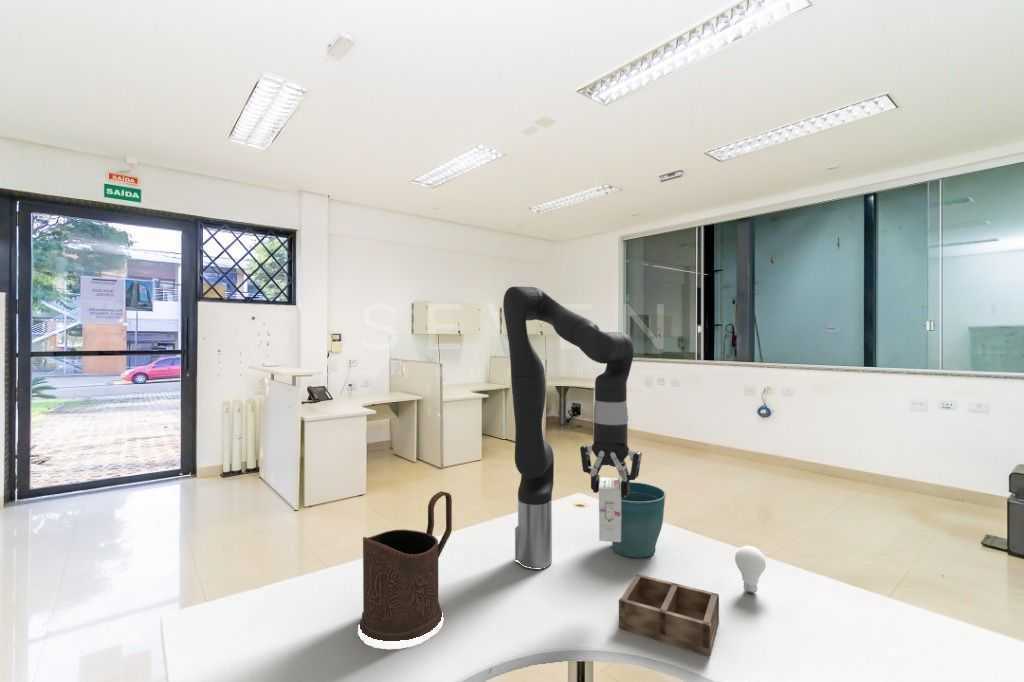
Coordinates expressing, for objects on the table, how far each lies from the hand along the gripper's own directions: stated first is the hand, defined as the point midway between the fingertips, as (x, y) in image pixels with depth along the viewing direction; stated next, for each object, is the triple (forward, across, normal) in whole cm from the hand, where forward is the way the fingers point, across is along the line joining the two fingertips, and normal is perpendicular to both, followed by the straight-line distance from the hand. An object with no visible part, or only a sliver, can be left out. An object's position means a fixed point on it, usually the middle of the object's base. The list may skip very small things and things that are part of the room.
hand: (609, 494), depth 108 cm
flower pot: (+26, -4, +32) cm, 42 cm away
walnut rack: (+26, +13, 0) cm, 29 cm away
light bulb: (+26, +27, +23) cm, 44 cm away
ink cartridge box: (+9, 0, 0) cm, 9 cm away
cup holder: (+27, -37, -25) cm, 52 cm away
